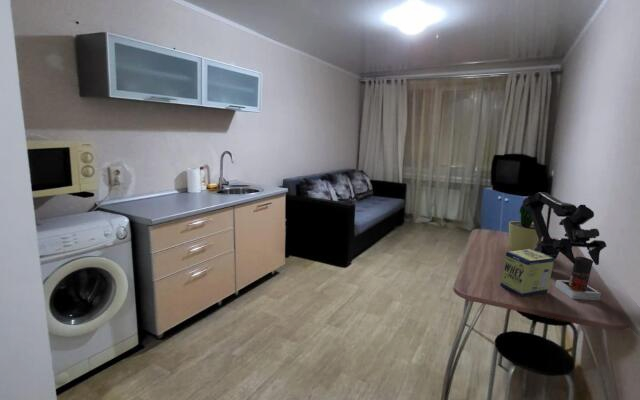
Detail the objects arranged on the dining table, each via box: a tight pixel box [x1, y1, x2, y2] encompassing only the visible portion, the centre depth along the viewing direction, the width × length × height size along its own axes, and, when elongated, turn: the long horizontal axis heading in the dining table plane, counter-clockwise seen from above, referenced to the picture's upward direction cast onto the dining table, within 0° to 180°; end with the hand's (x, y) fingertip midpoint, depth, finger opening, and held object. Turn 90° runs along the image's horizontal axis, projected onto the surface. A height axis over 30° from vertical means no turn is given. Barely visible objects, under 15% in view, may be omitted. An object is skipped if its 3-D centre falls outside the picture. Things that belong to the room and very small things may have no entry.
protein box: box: [500, 248, 556, 297], centre depth 144 cm, size 10×16×16 cm
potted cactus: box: [508, 203, 538, 251], centre depth 190 cm, size 15×15×30 cm
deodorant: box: [569, 256, 594, 291], centre depth 143 cm, size 6×6×15 cm
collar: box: [555, 279, 602, 301], centre depth 144 cm, size 11×11×3 cm
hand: (586, 264), depth 140 cm, fingers open, 9 cm apart
